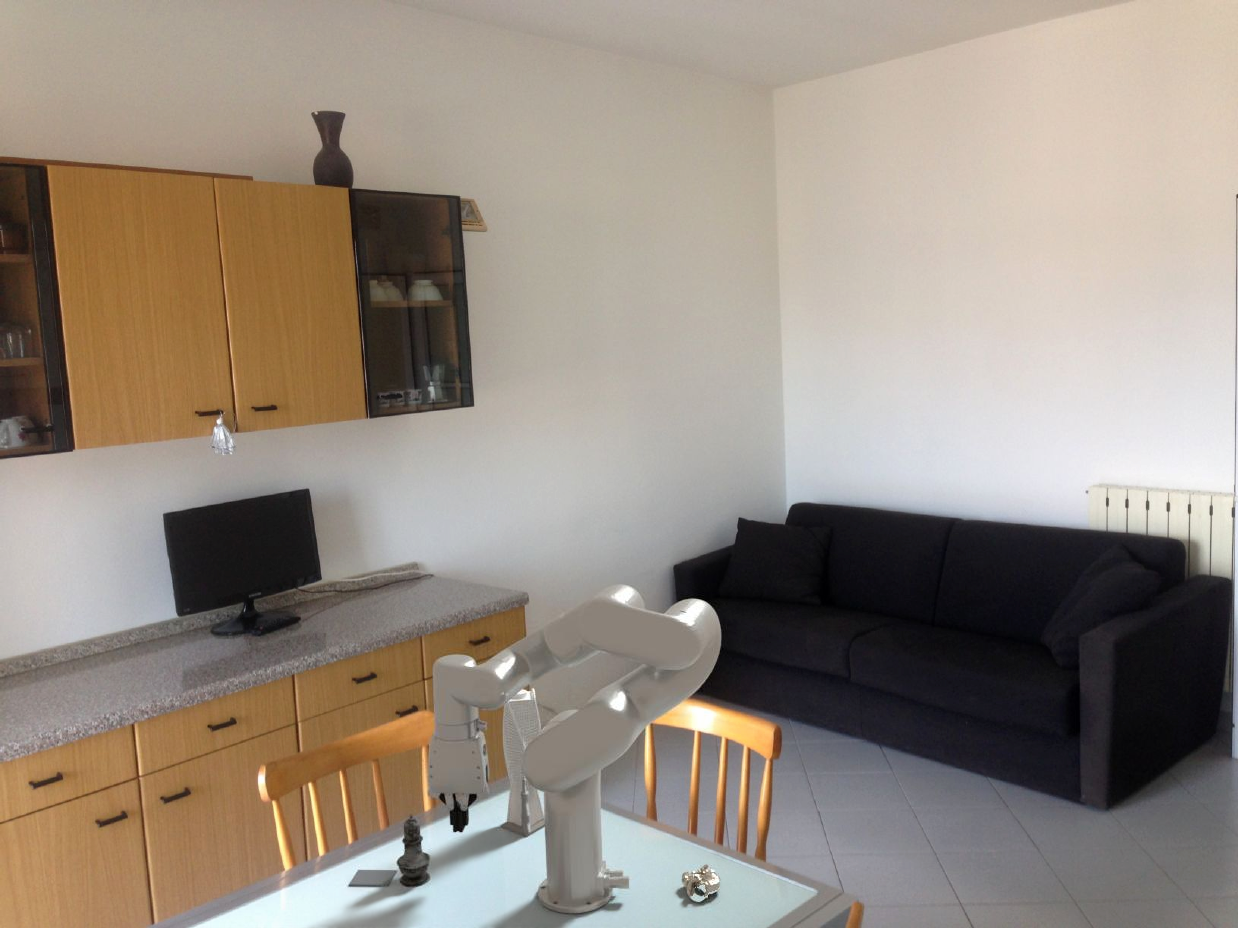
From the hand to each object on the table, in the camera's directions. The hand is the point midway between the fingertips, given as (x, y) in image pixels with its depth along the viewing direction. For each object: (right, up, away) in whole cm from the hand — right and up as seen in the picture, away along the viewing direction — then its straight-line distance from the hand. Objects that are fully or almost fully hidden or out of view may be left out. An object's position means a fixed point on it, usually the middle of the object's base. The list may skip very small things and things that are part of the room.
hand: (459, 828), depth 180 cm
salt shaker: (-8, -10, +2) cm, 13 cm away
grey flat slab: (-16, -10, +2) cm, 18 cm away
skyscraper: (+9, -7, +22) cm, 25 cm away
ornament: (+42, -9, -5) cm, 43 cm away
